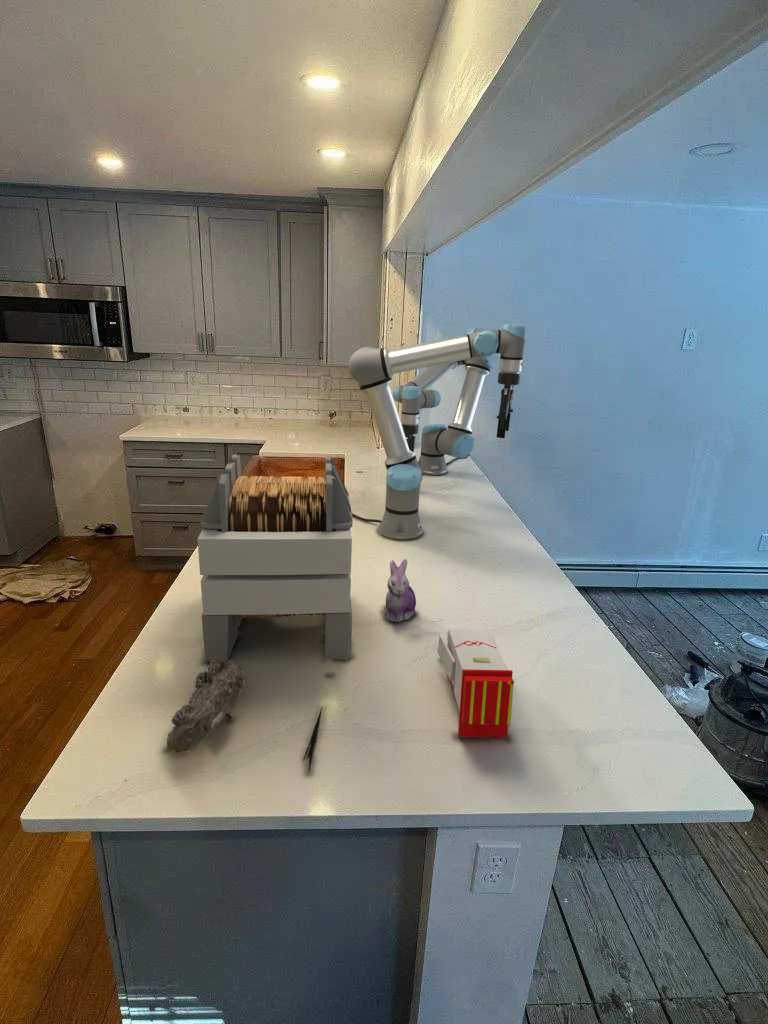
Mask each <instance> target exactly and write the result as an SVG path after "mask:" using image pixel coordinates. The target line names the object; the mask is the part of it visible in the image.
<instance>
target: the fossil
mask: <svg viewBox="0 0 768 1024" xmlns="http://www.w3.org/2000/svg"><path fill="white" fill-rule="evenodd" d="M243 670H244V669H243V667H242V665H240V664H237V662H236V661H235V660H234V659H232V658H231V659H229V658H228V659H227V660H224V661H217V660H212V661H211V662H209V665H208V666H207V671H201V672H199V673H198V674H197V675H196V676H195V680H194V684H195V685H194V687H195V689H194V690H193V693H192V694H191V697H190V698H189V700H188V704H184V705H182V706H181V707H180V709H177V710H176V711H175V713H174V715H173V716H172V718H171V723H172V724H173V727H172V730H171V731H170V732H168V734H167V738H166V741H167V742H166V745H167V749H168V750H169V751H173V752H174V753H176V754H178V753H182V752H188V751H189V752H192V751H193V750H195V748H196V747H197V746H199V744H200V743H201V742H203V741H204V740H205V739H206V738H207V737H208V736H209V735H210V734H211V733H212V732H214V730H215V729H217V727H218V726H219V724H220V722H221V721H222V720H223V719H224V718H225V716H226V717H227V719H229V720H233V717H232V715H230V714H229V710H230V709H231V708H234V706H235V704H236V703H237V702H238V699H239V697H240V695H241V693H242V691H243V690H245V689H244V688H245V675H244V671H243Z"/></svg>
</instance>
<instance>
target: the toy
mask: <svg viewBox="0 0 768 1024" xmlns="http://www.w3.org/2000/svg"><path fill="white" fill-rule="evenodd" d="M446 640H447V643H446V641H445V639H444V636H443V635H442V634H439V637H438V646H437V656H438V657H439V659H440V661H441V663H442V666H443V668H444V670H445V672H446V674H447V677H448V679H449V681H450V684H451V687H452V690H453V693H454V697H455V701H456V705H457V708H458V711H459V714H458V715H459V716H458V730H457V731H458V732H457V737H458V738H508V731H509V726H510V725H511V717H512V707H513V697H514V696H513V695H514V684H515V680H514V679H513V673H514V671H513V670H512V669H508V667H507V665H506V662H505V661H504V659H503V658H502V655H501V653H500V651H499V649H498V647H497V643H496V639H495V637H494V635H493V634H491V632H490V631H489V629H467V628H466V629H465V628H463V629H461V628H460V629H459V628H448V630H447V639H446Z"/></svg>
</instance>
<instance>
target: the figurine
mask: <svg viewBox="0 0 768 1024" xmlns="http://www.w3.org/2000/svg"><path fill="white" fill-rule="evenodd" d="M407 567H408V559H406V558H404V559H403V560H402V561H401V563H400V565H399V566H398V565H397V563H396V562H395V561H394V560H393V559H391V560H390V561H389V570H390V576H389V578H388V579H387V589H388V591H387V592H386V594H385V595H386V596H385V607H384V615H385V616H386V620H387V621H391V622H395V623H400V622H402V621H406V620H409V619H410V618H411V617H413V616H414V615H415V610H416V606H417V597H416V593H415V591H414V590H413V587H411V586H410V582H409V579H408V577H407V574H406V571H407Z"/></svg>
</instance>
